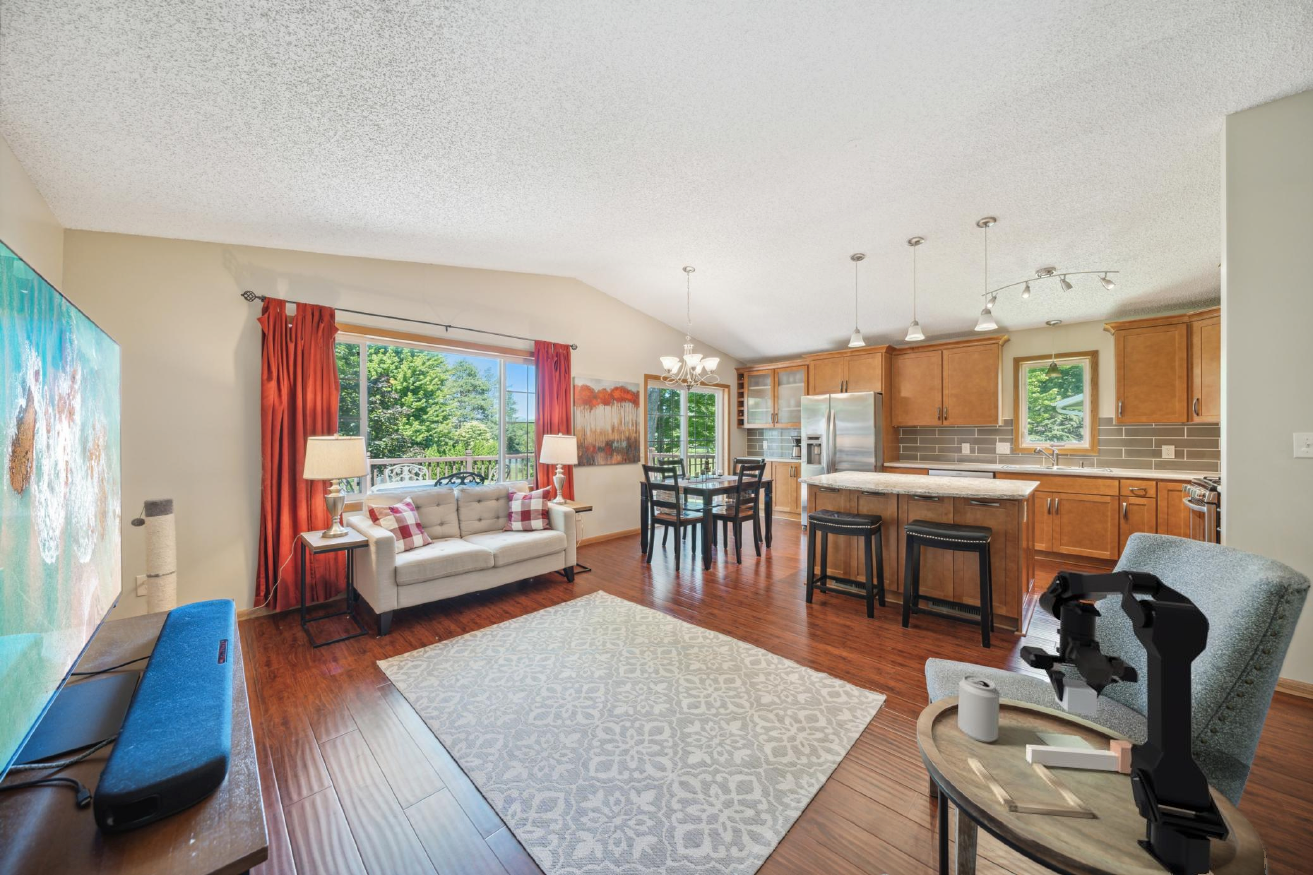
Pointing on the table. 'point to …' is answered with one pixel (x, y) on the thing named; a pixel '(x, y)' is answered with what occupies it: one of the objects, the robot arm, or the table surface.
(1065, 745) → the mat
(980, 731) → the can
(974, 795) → the table surface
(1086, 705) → the block
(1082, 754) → the bar
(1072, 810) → the wooden u frame
